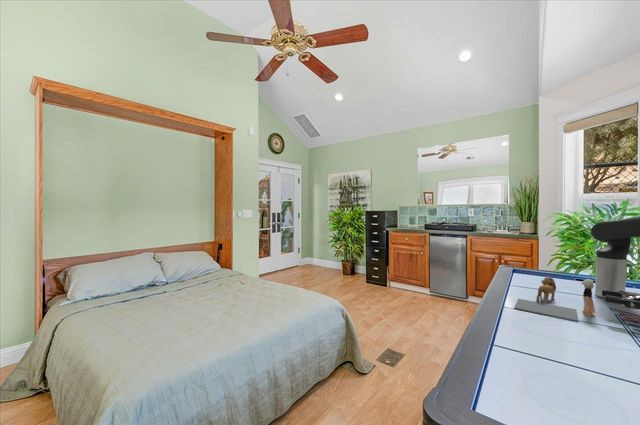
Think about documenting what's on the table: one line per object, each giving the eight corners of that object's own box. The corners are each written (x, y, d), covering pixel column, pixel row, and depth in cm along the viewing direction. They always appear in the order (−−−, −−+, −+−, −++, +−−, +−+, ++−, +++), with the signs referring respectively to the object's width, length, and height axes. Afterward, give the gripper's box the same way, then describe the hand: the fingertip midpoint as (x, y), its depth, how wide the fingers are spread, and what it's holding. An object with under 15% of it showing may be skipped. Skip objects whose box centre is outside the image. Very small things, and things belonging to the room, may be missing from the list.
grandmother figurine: (597, 318, 98) (599, 282, 98) (583, 315, 101) (584, 280, 100) (591, 311, 105) (592, 277, 105) (577, 309, 107) (579, 276, 107)
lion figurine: (541, 295, 124) (541, 275, 124) (556, 298, 120) (557, 277, 120) (534, 302, 114) (535, 280, 114) (551, 306, 110) (552, 283, 110)
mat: (518, 299, 117) (518, 298, 117) (576, 310, 105) (576, 309, 105) (514, 308, 106) (514, 307, 106) (578, 322, 95) (578, 320, 95)
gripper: (668, 290, 95) (601, 281, 105) (683, 300, 84) (606, 289, 95) (667, 311, 95) (600, 300, 106) (682, 325, 84) (605, 311, 95)
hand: (603, 295), depth 100 cm, fingers open, 8 cm apart
